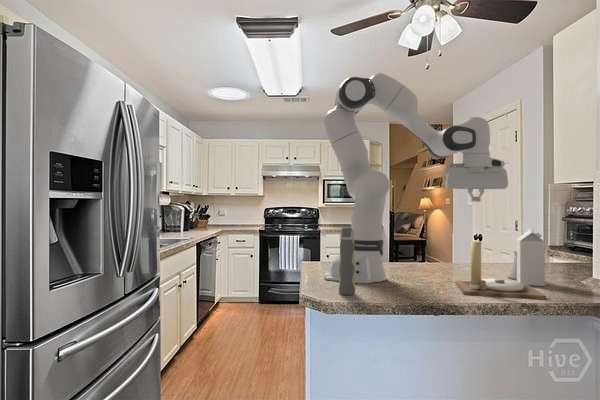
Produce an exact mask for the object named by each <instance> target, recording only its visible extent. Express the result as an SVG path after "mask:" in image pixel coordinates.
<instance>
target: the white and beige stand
mask: <svg viewBox="0 0 600 400" xmlns="http://www.w3.org/2000/svg"><path fill="white" fill-rule="evenodd" d="M470 246H471V247H470V281H471V284H470V288H474V289H480V280H484V281H486V289H491V290H498V291H521V290H524V285H523V284H522V283H519V282H518V281H517V280H512V279H511V280H509V279H502V278H482V242H481V241H471V242H470Z"/></svg>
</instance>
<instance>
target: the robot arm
mask: <svg viewBox="0 0 600 400" xmlns="http://www.w3.org/2000/svg"><path fill="white" fill-rule="evenodd" d="M368 104H369V105H374V106H376V107H378V108H379V109H381V110H382V111H383V112H385V113H386V114H387V115H388V116H391V117H392V118H393V119H394V120H395V121H396V122H398V123H399V124H400V125H402V126H403V127H404V128H405V129H406V130H408V132H409V133H411V134H412V135H413V136H415V137H416V138H417V139H418V140H419V141H421V142H422V144H424V146H425V147H426V149H427V150H428V152H429V153H430V154H431V155H432V156H433V157H435V158H436V159H447V158H448V157H451V156H452V155H454V154H458V153H461V154H462V163H461V162H459V163H452V162H451V163H449V164H447V165H446V166H445V169H444V171H445V172H444V173H445V175H446V178H445V188H447V189H448V190H449V189H450V190H451V189H452V190H453V189H454V190H467V193H468V195H469V197H470V202H476V203H479V202H481V201H482V200H481V199H482V198H481V197H482V196H483V194H484V193H485V190H506V189H507V188H508V187H509V178H508V172H507V170H506V168H504V167H505V165H506V164H505V161H504V160H501V159H496V158H493V157H491V152H490V149H489V148H490V144H491V130H490V129H491V128H490V125H489V122H488V120H486V119H484V118H482V117H478V116H475V117H473V116H472V117H471V116H470V117H468V118H466V119H465V120H464V121H462V122H460V123H458V124H454V125H451V126H449V127H446V128H444V129H443V130H437V129H435V128H433V126H431V125H430V124H429V123H427V122H426V121H425V120H424V119H423V118H421V116H420V115H419V112H418V106H419V105H418V104H419V102H418V98H417V95H416V94H415V93H414V92H413V91H412V90H411V89H410V88H408V87H407V86H406V85H404V84H403V83H402V82H400V81H398V80H397V79H395V78H393V76H392V77H391V76H389V75H387V74H385V73H382V72H377V73H375V74H373V75H372V76H371V77H359V76H351V77H348V78H346V79H345V80H344V81H343V82H342V83H341V84H340V85H339V88H338V90H337V91H336V97H335V105H334V108H332V109H331V110H329V111H328V112H327V113H326V114H325V116H324V118H323V124H324V128H325V131H326V135H327V138H328V141H329V143H330V144H331V147H332V150H333V152H334V154H335V156H336V159H337V162H338V163H339V166H340V168H341V173H342V176H343V180H344V182H345V185H346V189H347V190H346V191H347V193H348V195H349V196H350V197H351V198H352V199H353V200H354V207H353V212H352V214H351V215H352V216H351V218H350V219H351V228H352V229H353V230H354V266H355V283H356V284H370V283H376V282H377V283H378V282H379V283H380V282H383V281H386V280H388V279H387V275H386V271H385V267H384V266H385V265H384V258H383V257H384V254H385V252H384V250H385V247H384V246H385V244H384V239H383V215H384V209H385V205H386V198H387V194H388V192H389V190H390V185H391V184H390V180H389V177H388V176H387V175H386V174H385V173H383V172H382V171H379V170H376V169H372V168H371V165H370V160H369V159H370V158H369V150H368V149H367V146H366V144H365V141H364V140H363V137H362V135H361V133H360V130H359V128H358V126H357V124H356V121H355V116H356V115H357V114H358V113H359V112H360V111H361V110H362V109H363V108H365V106H366V105H368ZM474 190H478V192H479V193H478V195H477V196H474V194H473V192H474ZM339 269H340V253H339V254H338V255H337V256H336V257H334V258H333V259H332V261H331V263H330V268H329V271H327V272H325V273H323V274H324V275H323V279H325V280H328V281H336V282H339V279H340V271H339Z"/></svg>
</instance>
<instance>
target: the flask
mask: <svg viewBox="0 0 600 400" xmlns="http://www.w3.org/2000/svg"><path fill="white" fill-rule="evenodd" d="M513 253H514V254H513V255H514V257H513V262H512V265H511V268H510V269H509V271H508V274H507V278H508V279H511V280H514V281H517V250H514V251H513Z"/></svg>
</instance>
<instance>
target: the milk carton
mask: <svg viewBox="0 0 600 400" xmlns="http://www.w3.org/2000/svg"><path fill="white" fill-rule="evenodd" d="M545 243H546V242H545V241H544V240H543V239H542V234H541V233H539V232H538V231H535V232H534V231H533V229H532V228H530V227H527V231H526V232H524V233H523V234H521V235H520V236H519V237H517V238H516V251H517V280H516V282H519V283H522V284H527V285H529V286H531V287H532V286H534V287H545V286H546V282H545V281H546V279H545V278H546V276H545V275H546V272H545V270H546V269H545V266H546V265H545V261H546V259H545V258H546V256H545V254H546V253H545V248H546V246H545Z"/></svg>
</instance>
